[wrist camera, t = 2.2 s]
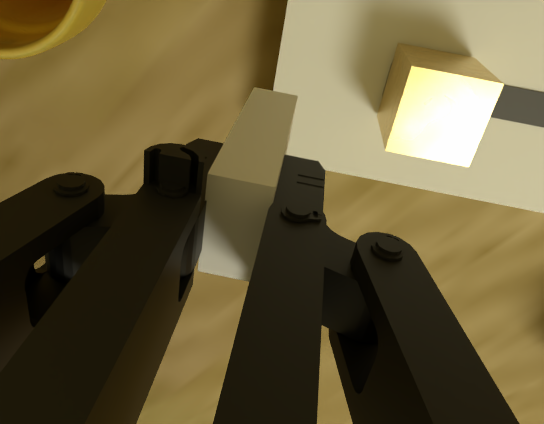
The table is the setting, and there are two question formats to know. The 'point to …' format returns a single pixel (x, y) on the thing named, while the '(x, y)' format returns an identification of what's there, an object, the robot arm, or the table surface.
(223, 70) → the table surface
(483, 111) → the brass slider
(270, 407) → the robot arm
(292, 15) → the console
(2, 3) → the plant pot
